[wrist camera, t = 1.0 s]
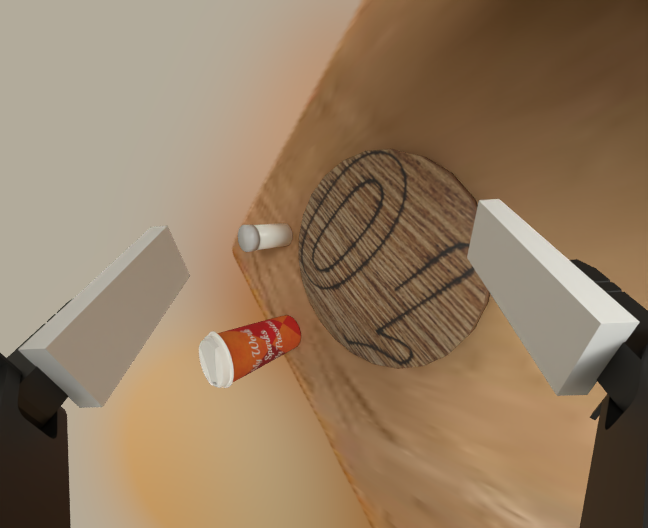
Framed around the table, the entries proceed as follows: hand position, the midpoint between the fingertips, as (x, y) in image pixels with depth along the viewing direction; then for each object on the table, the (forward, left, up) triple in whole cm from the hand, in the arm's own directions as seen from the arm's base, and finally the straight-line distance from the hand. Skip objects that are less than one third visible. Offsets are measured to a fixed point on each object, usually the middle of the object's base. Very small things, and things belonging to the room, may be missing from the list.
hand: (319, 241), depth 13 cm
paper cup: (+27, -19, -21) cm, 39 cm away
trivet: (+8, -8, -21) cm, 24 cm away
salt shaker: (+12, -25, -20) cm, 34 cm away
